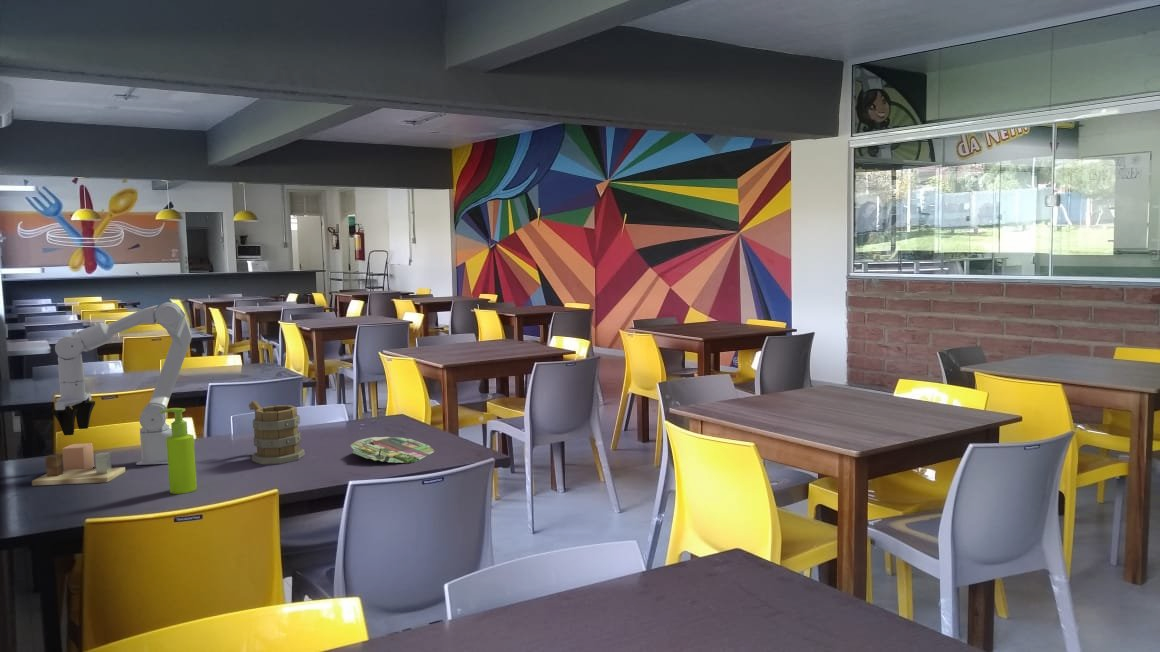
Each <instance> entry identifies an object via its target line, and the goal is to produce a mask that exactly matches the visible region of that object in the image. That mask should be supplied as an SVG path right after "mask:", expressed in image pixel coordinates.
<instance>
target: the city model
mask: <svg viewBox="0 0 1160 652" xmlns="http://www.w3.org/2000/svg"><path fill="white" fill-rule="evenodd" d="M349 446H350V447H351V448H352V452H351V453H353V454H355V455H357V456H360V457H362V458H365V459H366V460H368V459H370V460H373V461H380V462H387V463H404V464H406V465H408V464H410V463H416V462H418V461H420V460H421V459H424V458H425V457H427V456H430V455H431V454H433V453H434V452H435V449H433V448H432V447H431V446H430V445H428V443H427V442H425V443H423V442H421V441H418V440H414V439H412V438H405V437H397V436H396V437H394V436H381V437H380V436H379V437H378V436H373V437H366V438H363V439H358V440H356V441H355V442H353V443H351V444H350V445H349Z"/></svg>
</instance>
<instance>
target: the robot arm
mask: <svg viewBox="0 0 1160 652" xmlns="http://www.w3.org/2000/svg"><path fill="white" fill-rule="evenodd" d="M156 322H157V323H158V324H159V325H160V327H162V328H163V329H165V330H166V331H167V333H168V335H169V337H170V339H171V343H170V346H169V349H168V351H167V354H166V357H165V359H164V363H163V366H162V369H161V370H160V373H159V376H158V379H157V381H156V384H155V387H154V389H153V392H152V395H151V397H150V400H149V403H147V405H146V406H144V408H143V409H142V412H141V413H140V416H139V424H140V426H141V428H139V435H140V436H139V437H140V439H139V440H140V449H141V450H140V451H141V452H140V453H141V460H140V461H138V462H136V463H135V465H136V466H143V465H144V466H146V465H166V464H167V465H168V456H167V441H166V438H168V437H170V436H172V429H171V428H170V425H169V424H168V423H167V422H166V420H167V417H168V412H166V413H160V411H163V410H165V409H167V407H168V404H169V401H170V398H171V396H172V393H173V390H174V387H175V385H176V382H177V380H178V377H179V374H180V372H181V369H182V366H183V363H184V361H185V358H186V355H187V352H188V350H189V347H190V344H191V342H192V333H191V328H190V326H189V323H188V322H189V321H188V319H187V316H186V313H185V312H184V311H183V309H182V308H181V307H180V306H179V305H178V304H177V303H175V302H173V301H172V302H171V301H167V302H163V303H162V304H160V305H159V304H156V305H153V306H150V307H149V306H148V307H146V308H142V309H140V310H138V311H135V312H133V313H131V314H128V315H127V316H124V317H121V318H120V319H117V320H115V321H113V322H111V323H105V322H98V323H96V322H95V321H94V322H91V323H90V324H89V326H88V327H86V328H83V329H81V330H78V331H76V330H73V331H72V332H70V333H71V335H65V336H63V337H62V338H60V339H58V340H57V342H56V344H55V346H54V351H55V354H56V355H57V363H58V365H57V370H58V371H57V372H58V384H59V395H60V397H58V398H56V400H55V401H56V402H55V403H54V406H55V407H54V409H51V413H52V415H53V416H54V417H55V419H56V420H57V422H58V423H59V425H60V428H61V431H62V433H63V436H73V435H74V433H75V422H76V424H77V427H78V429H79V430H87V429H89V425H90V420H91V415H92V412H93V409H94V407H95V406H96V400H92V393H91V392H86V383H85V372H84V371H85V370H84V369H85V368H84V363H83V354H82V353H83V352H89V351H92V350H94V349H96V348H100V347H101V346H103V345H105V344H108V343H110V342H112V340H113V338H114V336H115V335H117V334H119V333H122V332H124V331H126V330H129V329H132V328H134V327H137V326H140V325H142V324H149V325H155V324H156Z"/></svg>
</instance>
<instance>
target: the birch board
mask: <svg viewBox="0 0 1160 652" xmlns="http://www.w3.org/2000/svg"><path fill="white" fill-rule="evenodd" d="M124 473H126V467H125V466H121V467H112V471H111V472H110V473H108V474H96V468H92V469H74V470H64V469H63V474H61V475H59V476H50V477H47V473H45V474H43V475H40V476H39V477H37V478H34V479H33V480H32V481H31V486H32V487H33V486H35V487H36V486H52V485H53V486H56V485H74V484H78V485H79V484H95V483H108V482H110V481H112V480H114V479H116V478H118V477H119V476H121V475H122V474H124Z"/></svg>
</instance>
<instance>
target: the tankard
mask: <svg viewBox="0 0 1160 652" xmlns="http://www.w3.org/2000/svg"><path fill="white" fill-rule="evenodd" d="M248 407H249V409H250V410H251V411H252V410H253V411H254V419H252V428H253V433H254V434H253V435H254V437H253V446H254V447H256V452H255V453H254V454H252V455H251V461H252V462H254V463H257V464H259V465H281V464H286V463H291V462H296V461H299V460H300V459H301V458H302V457H304V456H305V454H306V453H305V449H303V448H300V447H299V446H300V444H299V443H300V442H301V441H302V435H301V434H302V432H300V431H299V426H298V425H300V423H301V419H300V418H301V417H300V415H298V409H297V406H294V405H288V404H284V405H282V404H281V405H280V404H279V405H275V406H274V405H269V406H264V407H262V406H261V405H260V404H259V403H258V402H257V400H252V401H251V402H250V403H249V404H248Z"/></svg>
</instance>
